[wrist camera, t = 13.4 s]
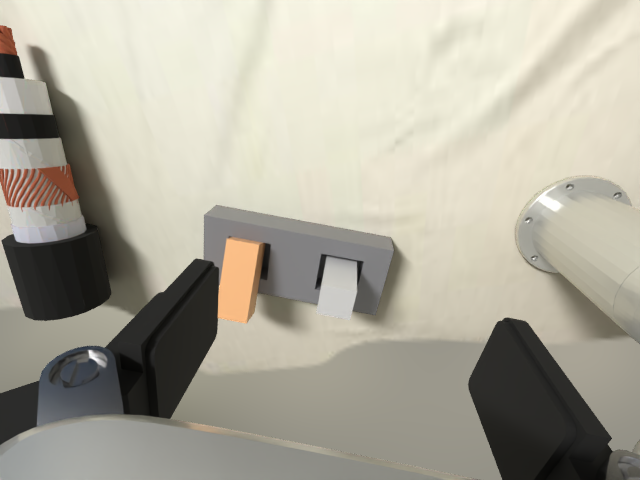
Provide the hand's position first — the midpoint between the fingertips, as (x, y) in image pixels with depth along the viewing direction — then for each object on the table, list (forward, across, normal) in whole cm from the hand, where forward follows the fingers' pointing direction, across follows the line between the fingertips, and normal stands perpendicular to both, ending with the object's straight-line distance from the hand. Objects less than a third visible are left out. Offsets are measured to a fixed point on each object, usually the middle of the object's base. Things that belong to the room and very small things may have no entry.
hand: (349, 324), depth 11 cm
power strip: (+32, +5, +15) cm, 36 cm away
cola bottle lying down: (+33, +38, +10) cm, 51 cm away
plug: (+28, +11, +12) cm, 33 cm away
